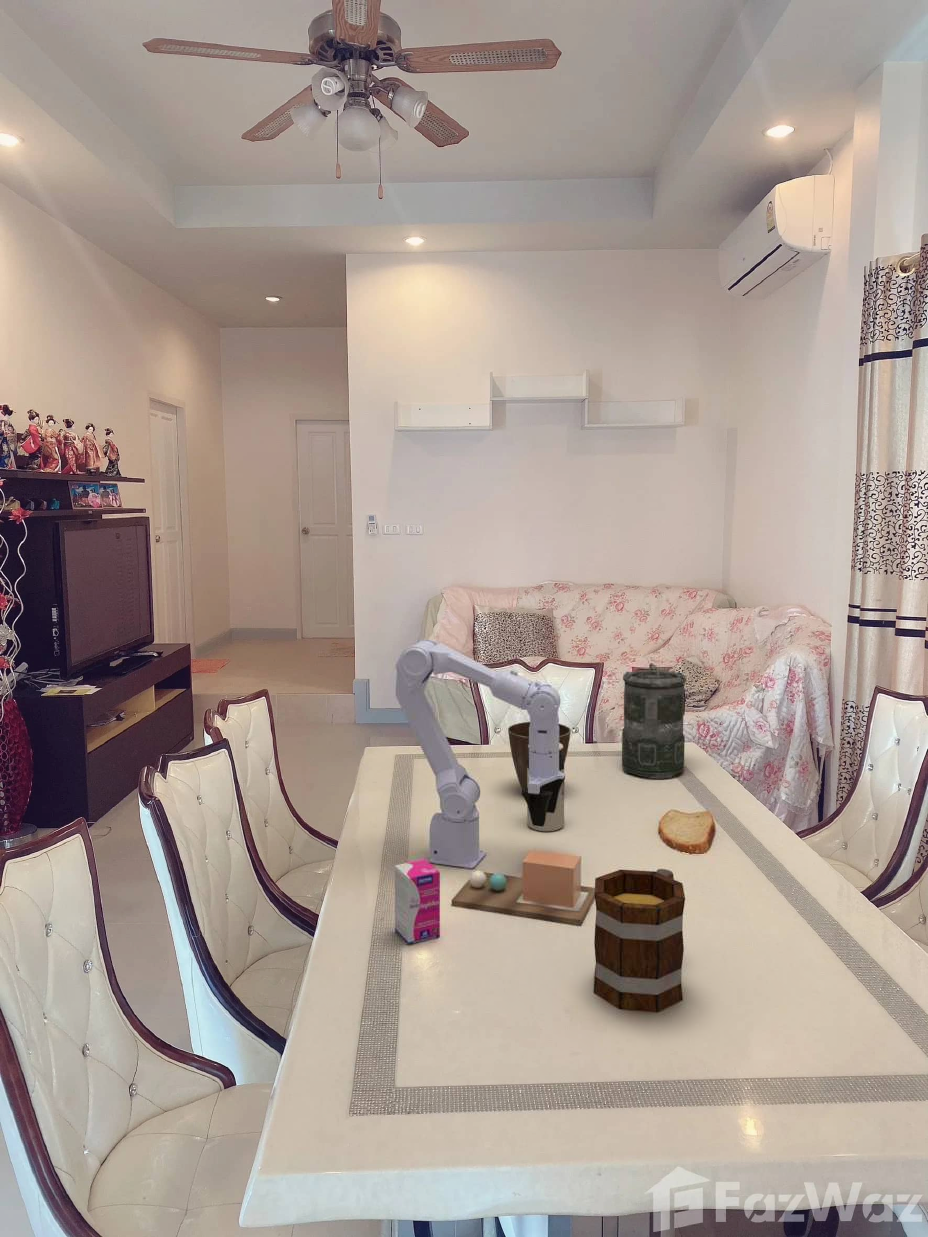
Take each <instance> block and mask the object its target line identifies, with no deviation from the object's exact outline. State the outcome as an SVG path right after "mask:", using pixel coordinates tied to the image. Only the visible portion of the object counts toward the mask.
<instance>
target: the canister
mask: <svg viewBox="0 0 928 1237" xmlns="http://www.w3.org/2000/svg"><path fill="white" fill-rule="evenodd" d="M622 677H623V678H622V681H623V682H624V688H623V689H624V690H623V728H622V730H621V734H622V735H621V738H622V739H621V768H622V769H623V771H624V772H625V773H626V774H629V773H630V774H632V775H634V776H638V777H643V778H649V779H650V780H663V779H665V780H666V779H671V778H672V777H674V776H676V775H682V773H683V772H684V770H685V767H684V765H685V743H686V742H685V734H684V716H685V714H686V690H685V684H686V682H687V681H686V680H687V679H686V676H685V674H683V673H682V672H679V671H678V672H675V671H670V670H661V669H660V668H659V667H658V666H657V665H655V664H654V663H652V662H651V663H649V667H648V668H637V669H636V670H633V671H629V670H628V671H627V672H625V673H624V674H623V676H622Z"/></svg>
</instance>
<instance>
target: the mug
mask: <svg viewBox="0 0 928 1237" xmlns="http://www.w3.org/2000/svg"><path fill="white" fill-rule="evenodd" d="M594 879H595V880H594V888H595V899H594V901H595V910H596V911H595V913H596V916H595V923H594V924H595V925H594V941H593V942H594V956H595V966H594V974H593V994H594V995H596V996H598V997H599V998H601V999H602V1000H604V1001H606V1002H607V1003H609V1004H610V1005H612V1006H613V1007H615V1008H616V1009H619V1010H622V1011H633V1012H635V1011H636V1012H644V1013H645V1012H647V1013H657V1014H658V1013H660V1012H662V1011H663V1010H666V1009H668V1008H669V1007H673V1006H674V1005H676V1004H678V1003H680V1002H682V1001H684V999H683V988H682V987H683V986H682V971H683V970H682V969H683V968H682V967H683V962H684V961H683V960H684V959H683V958H684V954H685V953H684V952H685V948H684V947H685V946H684V934H683V929H684V928H683V919H684V918H683V917H684V909H685V904H686V894H685V892H684V891H685V890H684V885H683V883H682V881H681V882H680V881H678V880H677V879H675V878H674V873H673V871H672V870H670V869H666V868H665V869H664V868H658V869H657V870H656V871H655V870H654V871H652V870H651V871H650V870H639V869H638V870H634V869H618V870H615V871H613V872H609V873H607V874H603V875H601V876H598V877H595V878H594Z"/></svg>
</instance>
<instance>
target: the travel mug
mask: <svg viewBox="0 0 928 1237" xmlns="http://www.w3.org/2000/svg"><path fill="white" fill-rule="evenodd" d="M528 747H529V745H528ZM562 749H563V745H562V744H561V743H559V771H560V772H562V773H565V763H564V759H563V757H562V755H561V751H562ZM528 771H529V757H528V759H527V787H528V783H529V778H528ZM526 808H527V810H526V812H527V813H526V814H527V817H526V820H527V821H526V822H527V823H526V824H527V826H528V827H529V828H530V829H532V830H535V831H537V832H538V831H539V832H554V831H559V830H561V829H562V828H564V826H565V781H564V782H563V784H562V786H561V788H560V791H559V795H558V800H557V805H556V809H555V812H554V813H548V812H546V820H545V824H544V826H543V827H542V826H534V825H533V824H532V821H531V816H530V812H529V808H528V805H527V804H526Z"/></svg>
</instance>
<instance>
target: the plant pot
mask: <svg viewBox="0 0 928 1237" xmlns="http://www.w3.org/2000/svg"><path fill="white" fill-rule="evenodd" d="M558 725H559V743H561V744H562V745H563V749H562V751H561V755H562V757H563V759H564V764H565V763H566V760H567V755H568V750H569V747H570V746H569V744H570V740H571V739H570V738H571V728H570V727H569V726H567V725H564V724H561V723H558ZM529 726H530V721H525V722H518V723H515V724H514V723H513V724H512V725H510V726H509V727H508V728H507V731H508V732H507V733H508V738H509V739H508V740H509V747H510V752H511V757H512V758H511V759H512V762H513V766H514V770H515V773H516V777H517V779H518V783H519V785H520V788H521V790H522V789H523V788H524V787H527V759H528V757H529V747H528V745H529Z"/></svg>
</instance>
